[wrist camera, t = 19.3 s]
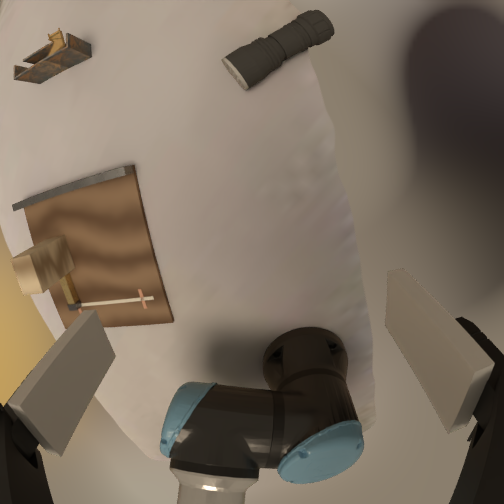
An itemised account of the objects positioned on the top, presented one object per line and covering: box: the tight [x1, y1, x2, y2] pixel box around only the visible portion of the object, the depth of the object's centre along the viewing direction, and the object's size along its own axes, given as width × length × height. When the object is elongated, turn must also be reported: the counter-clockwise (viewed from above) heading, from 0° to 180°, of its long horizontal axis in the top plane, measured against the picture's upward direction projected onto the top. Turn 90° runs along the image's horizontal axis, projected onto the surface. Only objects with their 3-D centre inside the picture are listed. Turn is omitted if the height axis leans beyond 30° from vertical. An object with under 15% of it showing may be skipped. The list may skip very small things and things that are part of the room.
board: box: [12, 165, 174, 329], centre depth 44 cm, size 26×24×4 cm
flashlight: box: [222, 10, 334, 90], centre depth 33 cm, size 15×5×5 cm, turn 126°
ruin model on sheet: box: [14, 28, 92, 84], centre depth 30 cm, size 11×3×10 cm, turn 100°
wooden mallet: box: [11, 235, 82, 311], centre depth 41 cm, size 13×5×10 cm, turn 9°
